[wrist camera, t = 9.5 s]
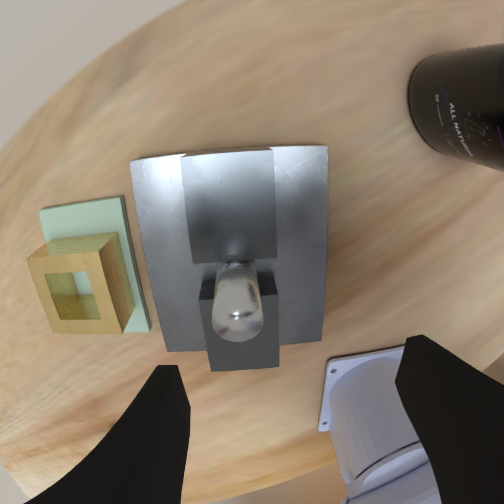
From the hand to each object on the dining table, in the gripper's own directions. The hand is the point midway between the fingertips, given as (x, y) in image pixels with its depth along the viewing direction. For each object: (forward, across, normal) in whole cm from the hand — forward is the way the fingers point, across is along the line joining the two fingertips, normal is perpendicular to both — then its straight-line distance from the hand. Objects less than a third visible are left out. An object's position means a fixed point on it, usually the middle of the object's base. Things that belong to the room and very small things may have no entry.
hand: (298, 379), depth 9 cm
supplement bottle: (+10, -12, -9) cm, 19 cm away
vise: (+10, +2, 0) cm, 10 cm away
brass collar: (+10, +11, 0) cm, 15 cm away
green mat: (+10, +11, 0) cm, 15 cm away
